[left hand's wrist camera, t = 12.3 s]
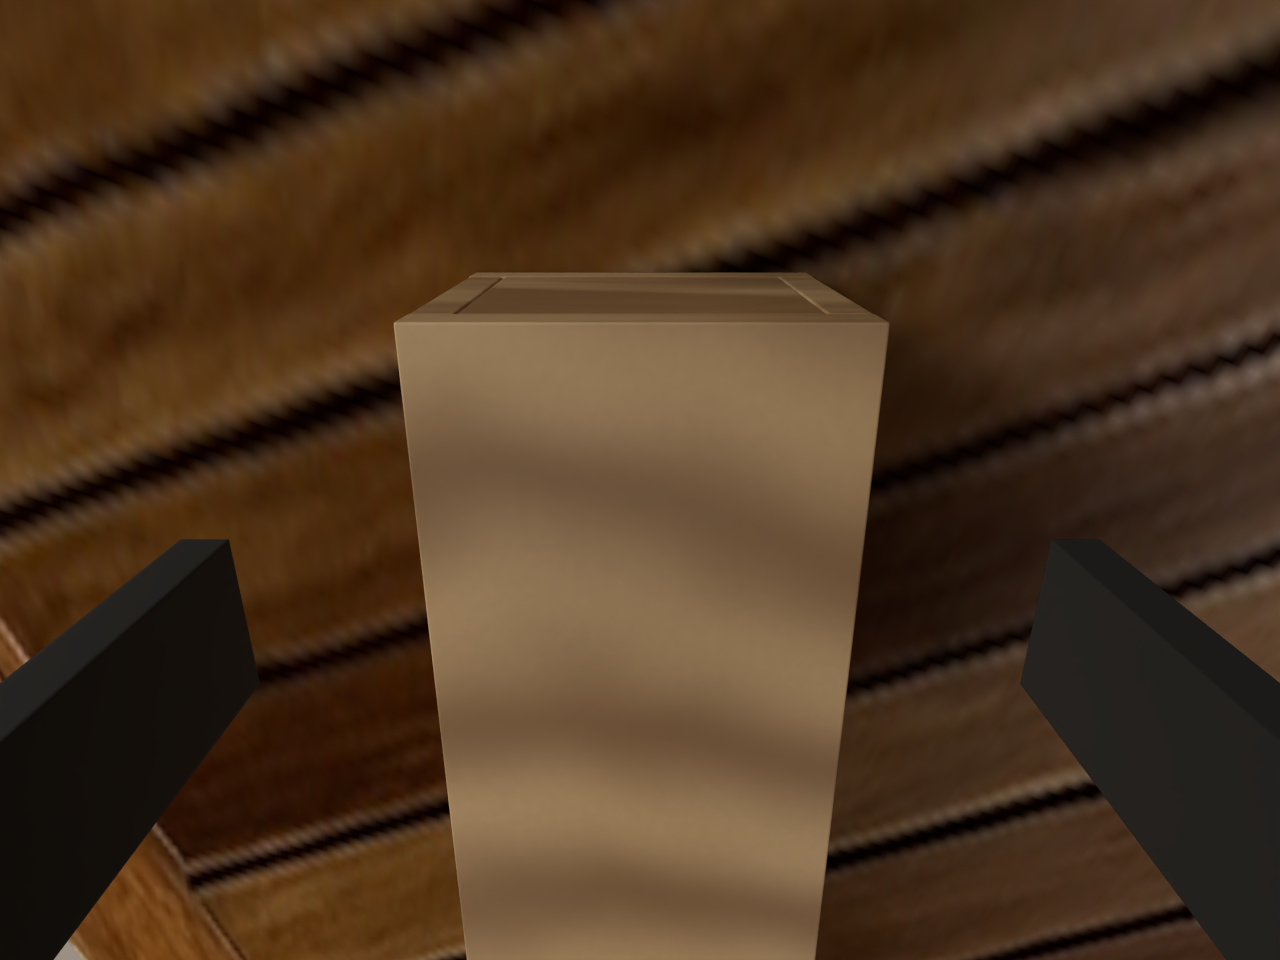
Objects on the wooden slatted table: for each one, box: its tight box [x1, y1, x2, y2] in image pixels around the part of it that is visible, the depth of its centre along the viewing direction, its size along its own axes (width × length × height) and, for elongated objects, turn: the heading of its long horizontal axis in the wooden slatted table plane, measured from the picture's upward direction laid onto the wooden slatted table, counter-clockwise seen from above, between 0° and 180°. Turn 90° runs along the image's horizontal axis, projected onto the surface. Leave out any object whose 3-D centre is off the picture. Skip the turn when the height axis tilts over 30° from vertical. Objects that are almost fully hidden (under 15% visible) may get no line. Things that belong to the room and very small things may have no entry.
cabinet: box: [394, 273, 890, 960], centre depth 24 cm, size 22×10×9 cm, turn 0°
